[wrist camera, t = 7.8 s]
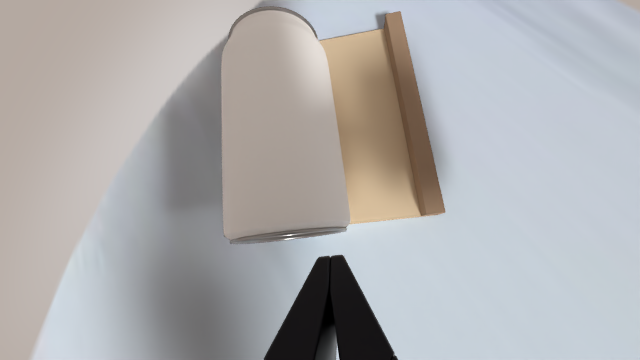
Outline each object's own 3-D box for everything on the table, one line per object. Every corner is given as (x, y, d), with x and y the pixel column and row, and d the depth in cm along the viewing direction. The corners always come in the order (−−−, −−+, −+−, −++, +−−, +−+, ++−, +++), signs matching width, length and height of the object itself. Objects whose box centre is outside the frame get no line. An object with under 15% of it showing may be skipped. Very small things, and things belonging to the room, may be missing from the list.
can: (221, 247, 14) (219, 72, 17) (323, 236, 17) (305, 85, 20) (226, 240, 8) (222, -20, 12) (378, 225, 11) (342, 16, 14)
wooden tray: (436, 215, 15) (445, 212, 13) (249, 234, 16) (238, 234, 15) (396, 29, 18) (400, 11, 17) (245, 58, 20) (236, 43, 18)
